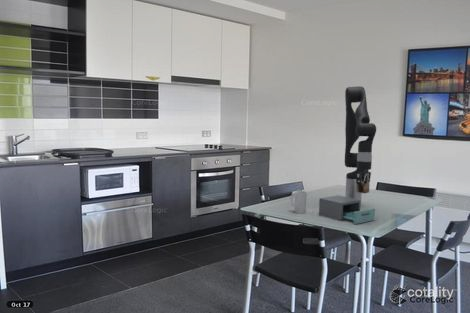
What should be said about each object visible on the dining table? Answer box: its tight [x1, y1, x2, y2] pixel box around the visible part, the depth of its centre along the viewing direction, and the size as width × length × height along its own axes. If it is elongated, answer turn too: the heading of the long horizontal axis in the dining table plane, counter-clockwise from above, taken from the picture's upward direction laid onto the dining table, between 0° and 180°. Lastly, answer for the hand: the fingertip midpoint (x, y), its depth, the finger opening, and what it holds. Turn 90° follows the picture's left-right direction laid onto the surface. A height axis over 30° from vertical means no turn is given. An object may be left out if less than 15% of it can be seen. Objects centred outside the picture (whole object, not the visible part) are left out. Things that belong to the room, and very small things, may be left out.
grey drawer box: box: [318, 194, 362, 222], centre depth 239 cm, size 16×16×10 cm
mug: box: [289, 190, 308, 214], centre depth 248 cm, size 10×7×12 cm, turn 52°
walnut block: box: [356, 182, 371, 194], centre depth 230 cm, size 5×5×5 cm
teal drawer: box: [343, 208, 376, 225], centre depth 232 cm, size 16×16×6 cm
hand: (362, 191), depth 230 cm, fingers closed on walnut block, 5 cm apart
